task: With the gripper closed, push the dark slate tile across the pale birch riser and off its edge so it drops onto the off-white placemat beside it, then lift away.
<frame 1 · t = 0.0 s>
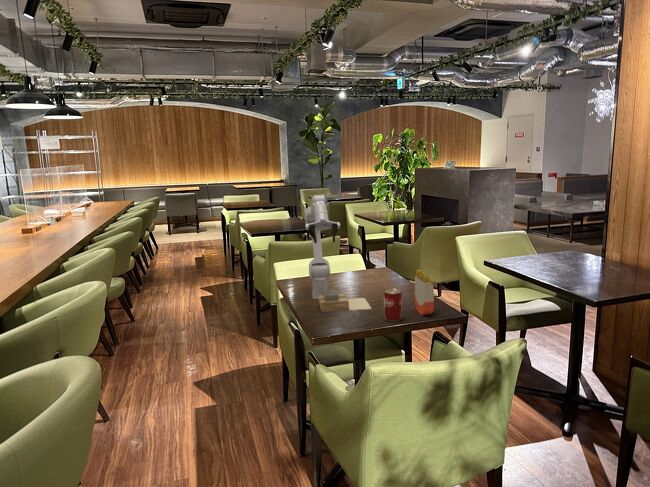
hand: (324, 241, 202), 32 cm above the table, tool tilted 50°, fingers open, 7 cm apart
soda can: (393, 319, 201), on the table
placemat: (357, 304, 222), on the table
slate tile: (330, 297, 219), point 4 cm above the table, touching birch riser
birch riser: (333, 306, 220), on the table
french fries container: (424, 313, 208), on the table
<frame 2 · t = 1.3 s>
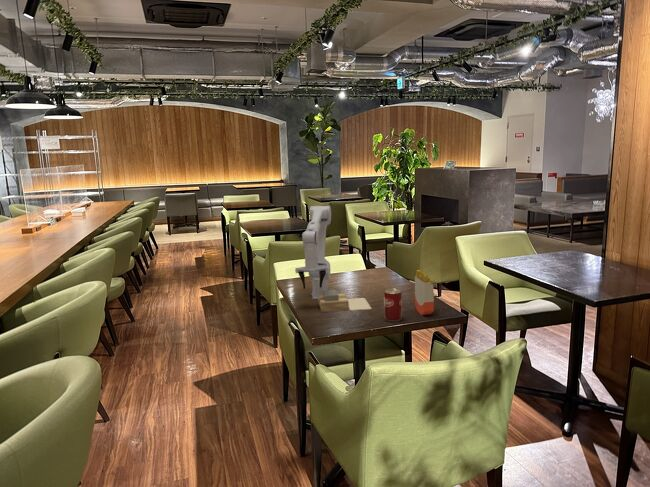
hand: (312, 287, 218), 9 cm above the table, tool pointing down, fingers open, 7 cm apart
nothing on the table moved.
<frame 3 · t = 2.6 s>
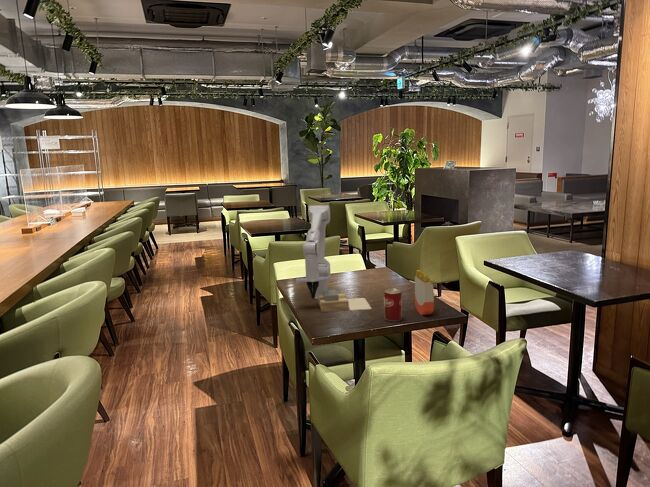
hand: (313, 298, 219), 4 cm above the table, tool pointing down, fingers closed
nothing on the table moved.
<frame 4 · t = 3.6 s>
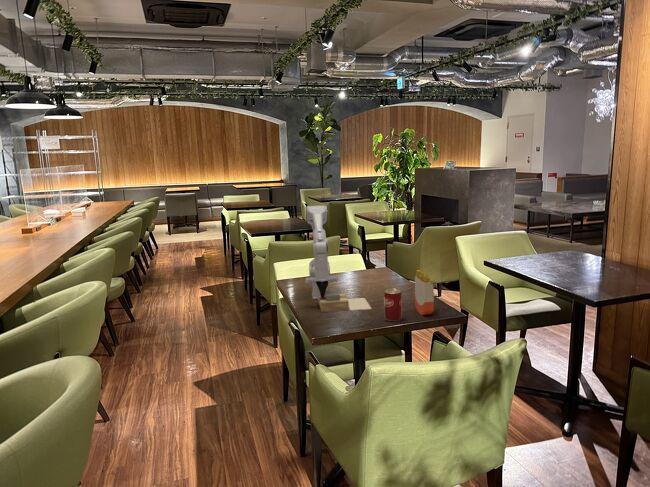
hand: (322, 297, 219), 5 cm above the table, tool pointing down, fingers closed
slate tile: (332, 297, 219), point 4 cm above the table, touching gripper
everything else where it was.
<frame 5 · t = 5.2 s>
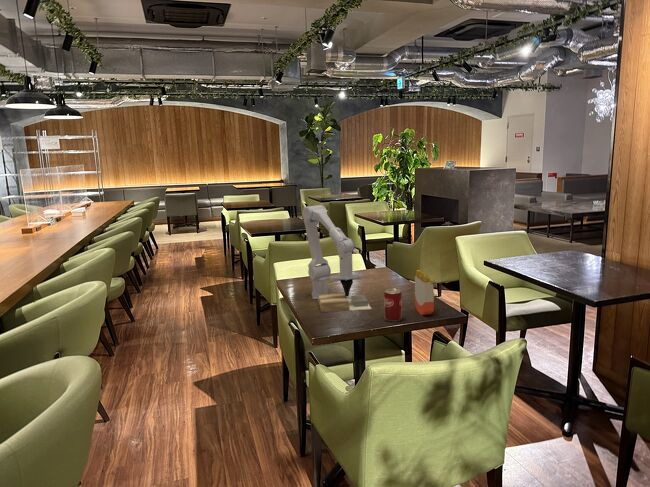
hand: (346, 295, 220), 5 cm above the table, tool pointing down, fingers closed
slate tile: (359, 298, 221), point 3 cm above the table, tilted 180°, touching placemat
everything else where it was.
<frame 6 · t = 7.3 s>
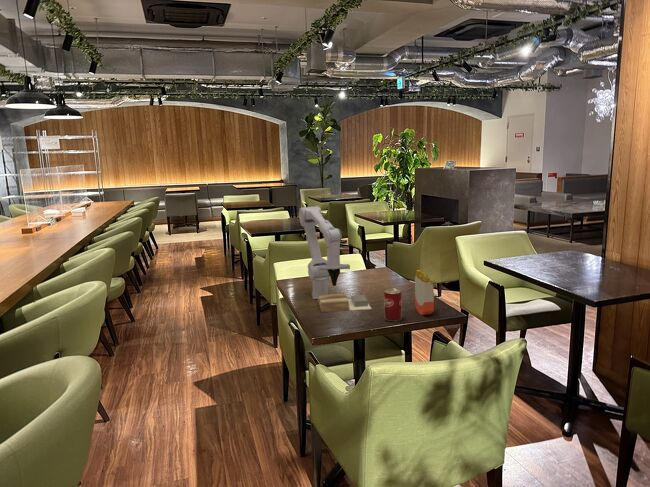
hand: (334, 285, 220), 9 cm above the table, tool pointing down, fingers closed
nothing on the table moved.
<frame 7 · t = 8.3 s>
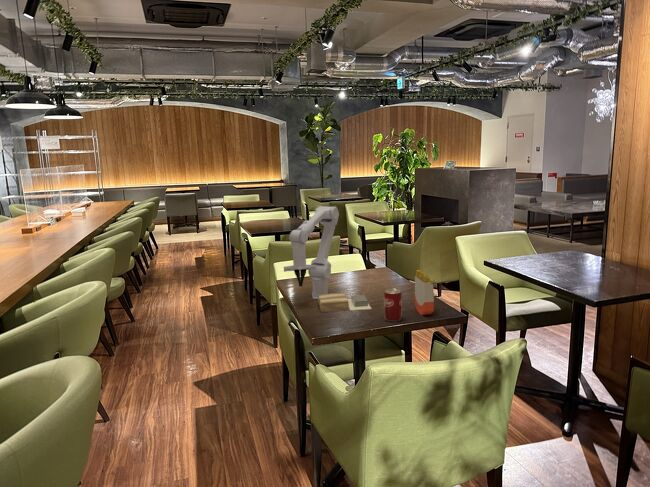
hand: (300, 285, 221), 9 cm above the table, tool pointing down, fingers closed
nothing on the table moved.
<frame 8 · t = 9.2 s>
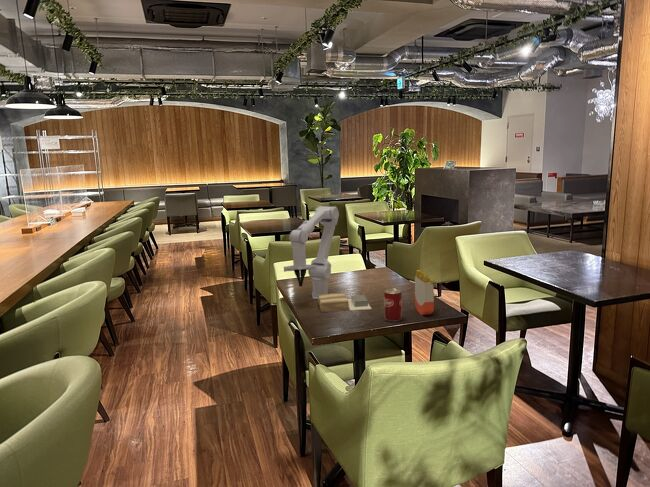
hand: (300, 285, 221), 9 cm above the table, tool pointing down, fingers closed
nothing on the table moved.
at the end: slate tile point 2.9 cm above the table; slate tile inside the target area on the placemat (0.9 cm from its centre), point 2.9 cm above the placemat's base; slate tile touching placemat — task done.
